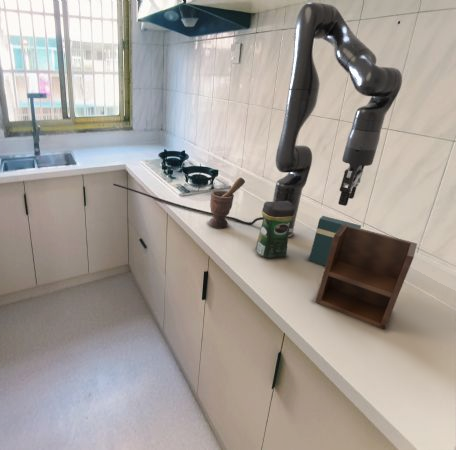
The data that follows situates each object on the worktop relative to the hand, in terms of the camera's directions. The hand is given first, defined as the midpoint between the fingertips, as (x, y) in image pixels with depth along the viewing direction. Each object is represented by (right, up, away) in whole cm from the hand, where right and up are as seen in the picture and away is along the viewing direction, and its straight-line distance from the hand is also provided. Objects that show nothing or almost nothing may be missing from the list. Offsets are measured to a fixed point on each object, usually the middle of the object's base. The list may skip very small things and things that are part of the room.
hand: (345, 201), depth 100 cm
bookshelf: (-5, -29, -11) cm, 31 cm away
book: (-1, -20, +9) cm, 22 cm away
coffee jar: (-18, -17, +14) cm, 28 cm away
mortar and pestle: (-30, -7, +35) cm, 47 cm away
